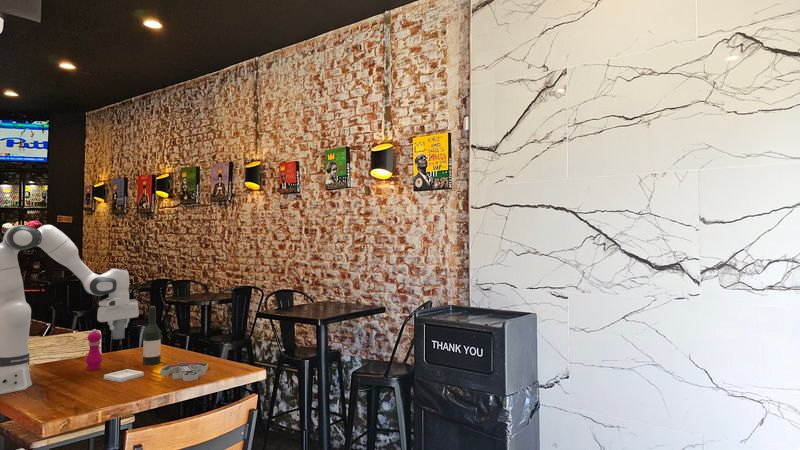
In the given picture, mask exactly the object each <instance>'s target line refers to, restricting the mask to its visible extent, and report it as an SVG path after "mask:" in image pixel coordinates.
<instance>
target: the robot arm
mask: <svg viewBox="0 0 800 450" xmlns="http://www.w3.org/2000/svg"><path fill="white" fill-rule="evenodd" d="M34 247H38V248H41V250H43V252H44V253H46V254H47V255H48V256H49V257H50V258H51V259H53V260H54V261H56V262H57V263H59V264H61V265H62V266H64V267H66V268H67V269H69V270H70V271H71V273H72V274H74V275H75V276H76V277H77V279H78V280H79V281H80V282H81V284H82V287H83V290H84V291H85V292H86V293H87V294H89V295H92V296H93V295H94V296H104V295H108V297H107V298H104V299H102V300H100V301H99V302H98V306H99V307H98V308H97V316H96V317H97V318H96V319H97V321H98V322H99V323H105V322H107V325H108V326H109V330H110V331H113V330H115V326H113V321H114V320H121V319H125V329H126V328H128V324H129V323H130V319H133V318H138V317H139V315H140V312H139V311H140V310H139V301H138V300H137V299H135V298H133V299H130V292H129V288H130V275H129V271H128V270H127V269H124V268H116V267H114V268H110V269H109V270H107V271H106V272H104V273H102V274H98V273H95V272H94V271H92V270H91V269H90V268H89V267H88V266H87V265H86V264H85V262H83V261H82V259H81V258H80V255H79V249H78V247H77V245H76V244H75V243H74V242H73V241H72V240H71V238H70V237H68V236H67V235H66V234H65V233H64V232H63V231H62V230H60V229H58V228H57V227H56V226H54V225H52V224H44V225H41V226H40V227H38V228H34V227H30V226H28V225H24V224H16V225H13V226H11V227H9V228H8V229H7V230H5V232H4V234H3V236H2V239H1V241H0V395H3V394H9V393H13V392H14V393H15V392H19V391H24V390H27V389H28V388H29V387H31V386H32V385H33V382H32V379H31V375H30V368H29V366H30V352H29V346H30V344H29V339H30V338H29V336H30V328H31V318H32V308H31V306H30V304H29V303H28V302H27V301H26V295H25V289H24V281H23V276H22V273H21V269H20V265H19V264H20V263H19V260H18V254H19V252H20V251H25V250H29V249H31V248H34Z"/></svg>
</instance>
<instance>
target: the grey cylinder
mask: <svg viewBox="0 0 800 450" xmlns="http://www.w3.org/2000/svg"><path fill="white" fill-rule="evenodd" d="M112 324H113V326H115V330H112V340H122V339H125V334H126V332H125V330H126V328H125V319H121V320H114V321H113V323H112Z"/></svg>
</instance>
